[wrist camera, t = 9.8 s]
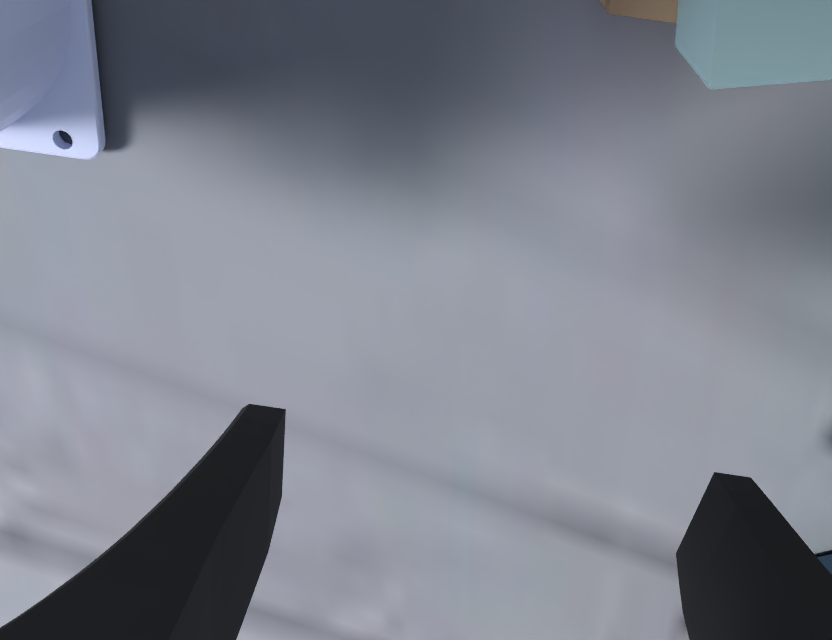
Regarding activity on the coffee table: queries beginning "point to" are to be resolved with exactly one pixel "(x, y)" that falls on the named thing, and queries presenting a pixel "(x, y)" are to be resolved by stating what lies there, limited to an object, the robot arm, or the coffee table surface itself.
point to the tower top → (756, 41)
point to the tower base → (643, 9)
